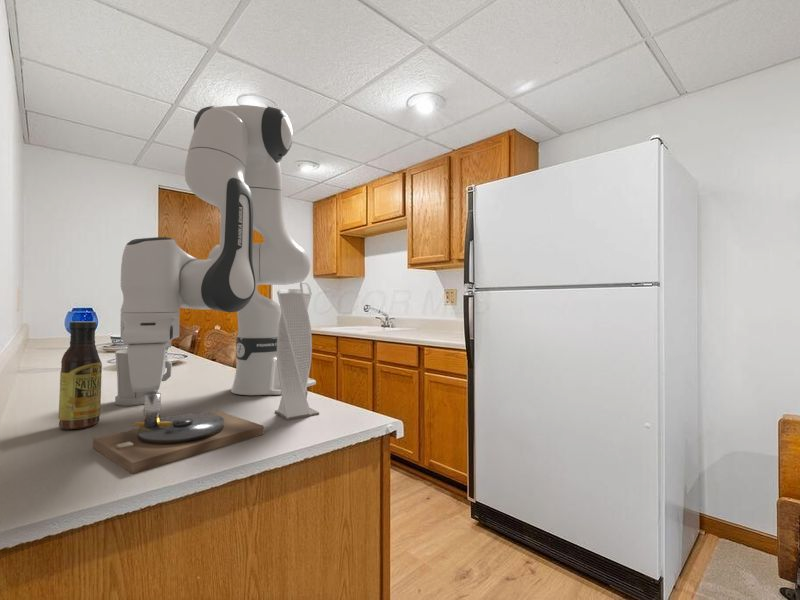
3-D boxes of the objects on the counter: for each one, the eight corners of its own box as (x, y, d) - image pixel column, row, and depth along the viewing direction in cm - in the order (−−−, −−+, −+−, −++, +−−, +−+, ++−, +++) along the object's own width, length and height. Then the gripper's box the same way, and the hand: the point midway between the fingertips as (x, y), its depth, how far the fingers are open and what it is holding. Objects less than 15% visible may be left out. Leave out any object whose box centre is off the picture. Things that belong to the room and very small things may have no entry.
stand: (216, 418, 83) (217, 409, 83) (263, 434, 73) (263, 424, 73) (92, 447, 66) (92, 436, 66) (132, 473, 57) (132, 460, 57)
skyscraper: (322, 416, 85) (322, 281, 85) (284, 422, 80) (285, 280, 80) (305, 407, 92) (305, 282, 92) (269, 413, 87) (270, 281, 87)
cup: (152, 393, 104) (152, 346, 104) (174, 398, 99) (175, 349, 99) (106, 403, 94) (106, 351, 94) (129, 408, 90) (129, 354, 90)
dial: (234, 418, 77) (234, 385, 77) (206, 442, 64) (207, 403, 64) (155, 419, 76) (155, 386, 76) (111, 444, 63) (111, 404, 63)
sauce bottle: (77, 432, 74) (77, 322, 74) (49, 430, 75) (49, 322, 75) (109, 421, 80) (110, 320, 80) (83, 419, 82) (84, 320, 81)
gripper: (136, 325, 79) (136, 396, 79) (120, 333, 61) (120, 426, 61) (173, 324, 82) (173, 393, 82) (169, 332, 64) (169, 420, 64)
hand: (150, 407), depth 72 cm, fingers closed
